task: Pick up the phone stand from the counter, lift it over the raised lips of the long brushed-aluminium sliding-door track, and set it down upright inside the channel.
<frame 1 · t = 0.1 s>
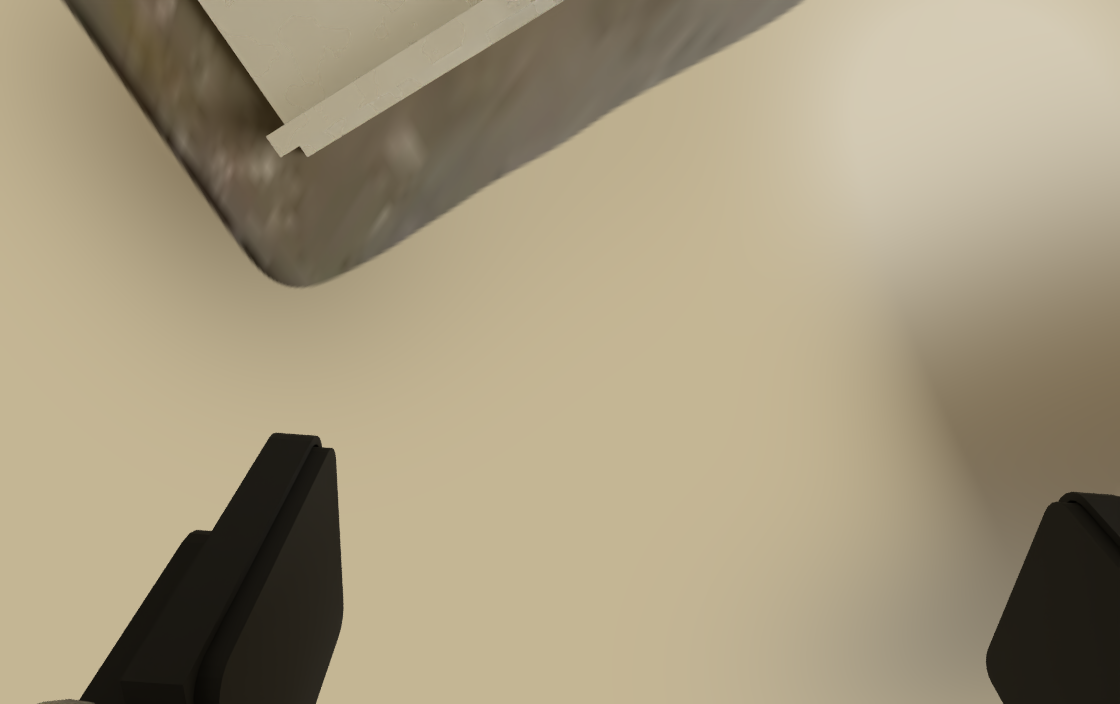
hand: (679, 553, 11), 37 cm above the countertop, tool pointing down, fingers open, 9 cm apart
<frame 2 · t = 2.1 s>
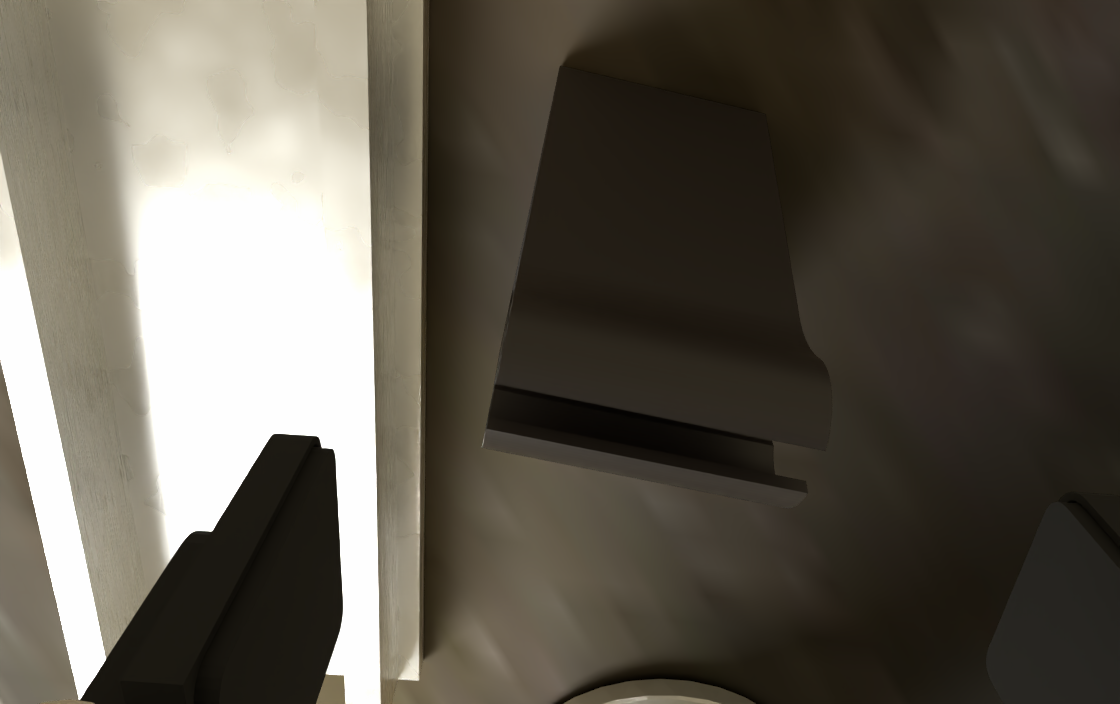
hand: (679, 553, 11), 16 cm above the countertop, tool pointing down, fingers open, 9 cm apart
aluminium track: (241, 325, 27), on the countertop
phone stand: (622, 234, 26), on the countertop
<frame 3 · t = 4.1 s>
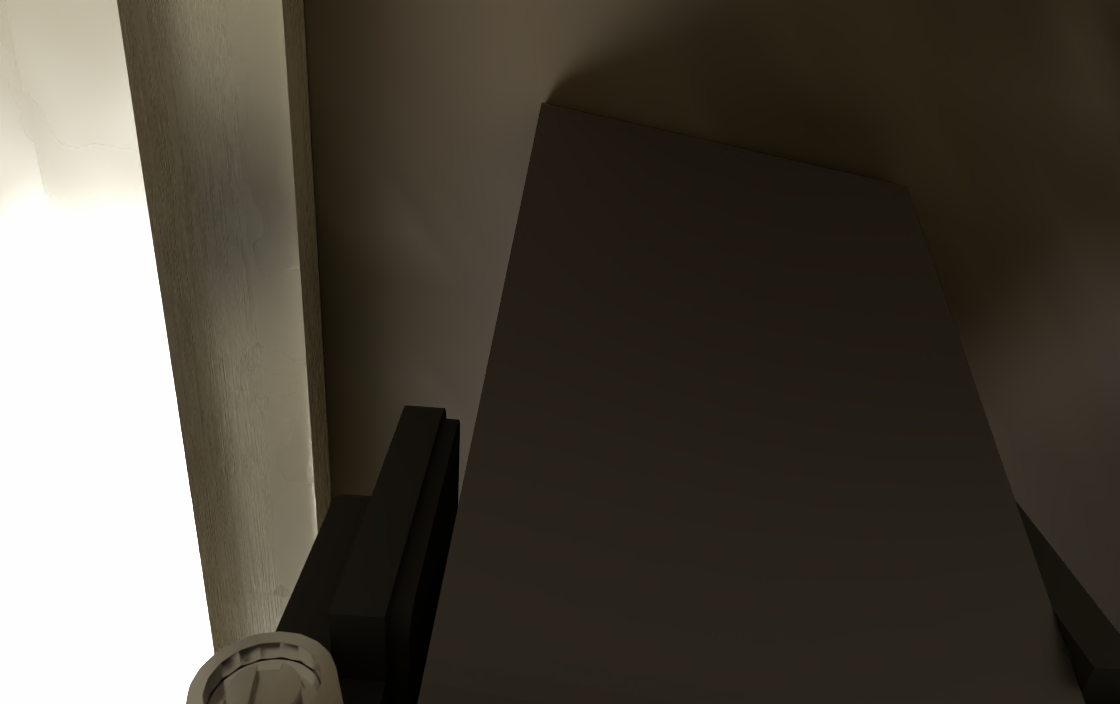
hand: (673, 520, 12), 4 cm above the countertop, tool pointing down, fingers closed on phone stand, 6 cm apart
aluminium track: (36, 508, 17), on the countertop
phone stand: (649, 374, 16), on the countertop, touching gripper
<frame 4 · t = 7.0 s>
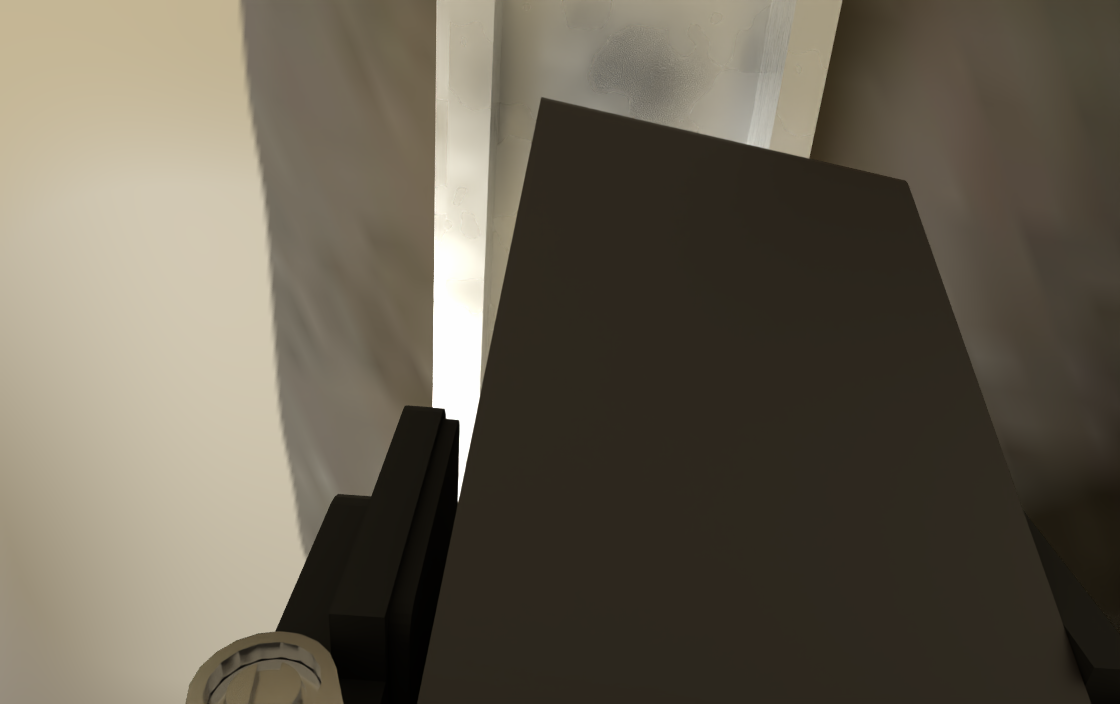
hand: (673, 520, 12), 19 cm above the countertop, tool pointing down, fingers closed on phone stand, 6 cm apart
aluminium track: (615, 176, 28), on the countertop
phone stand: (648, 370, 16), point 14 cm above the countertop, touching gripper
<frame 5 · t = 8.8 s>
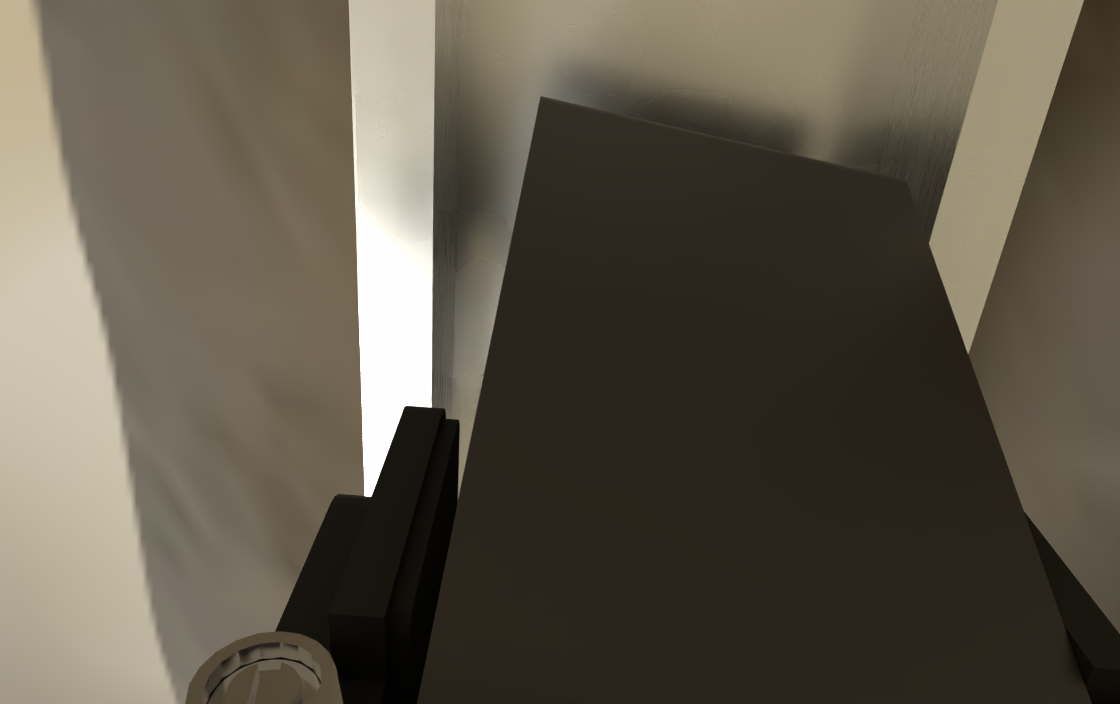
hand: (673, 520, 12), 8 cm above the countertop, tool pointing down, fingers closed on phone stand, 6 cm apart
aluminium track: (641, 311, 18), on the countertop
phone stand: (648, 369, 16), point 3 cm above the countertop, touching gripper
when the fingers open (6 cm above the countertop, at t = 10.0 s): phone stand drops 1 cm, resting on aluminium track.
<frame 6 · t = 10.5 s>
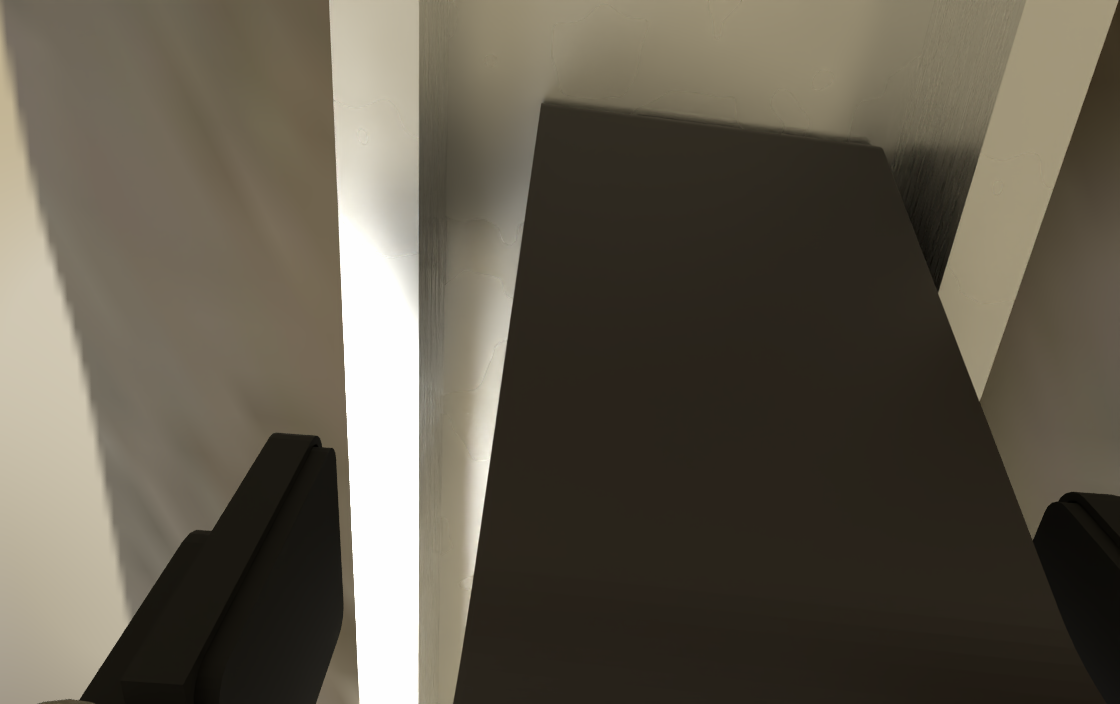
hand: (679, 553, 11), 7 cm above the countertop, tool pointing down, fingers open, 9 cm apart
aluminium track: (640, 324, 18), on the countertop
phone stand: (663, 343, 17), point 1 cm above the countertop, touching aluminium track
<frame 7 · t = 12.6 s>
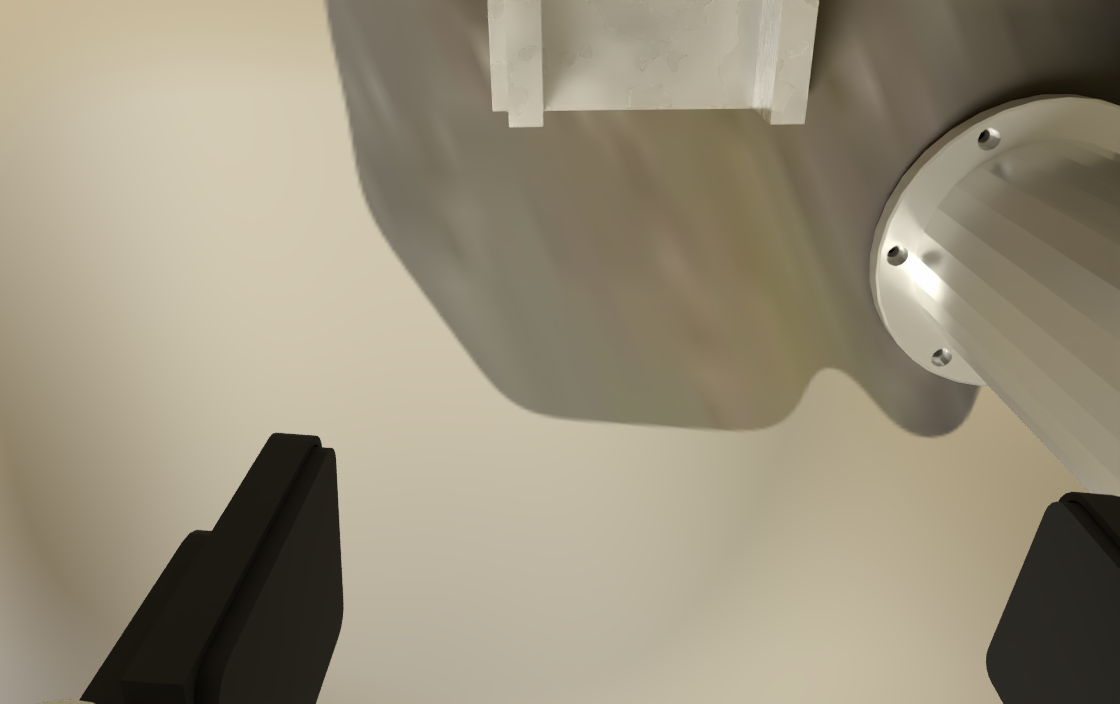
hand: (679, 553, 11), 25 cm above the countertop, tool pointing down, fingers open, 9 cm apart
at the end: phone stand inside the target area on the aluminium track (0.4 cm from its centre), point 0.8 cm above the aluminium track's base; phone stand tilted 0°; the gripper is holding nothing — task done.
